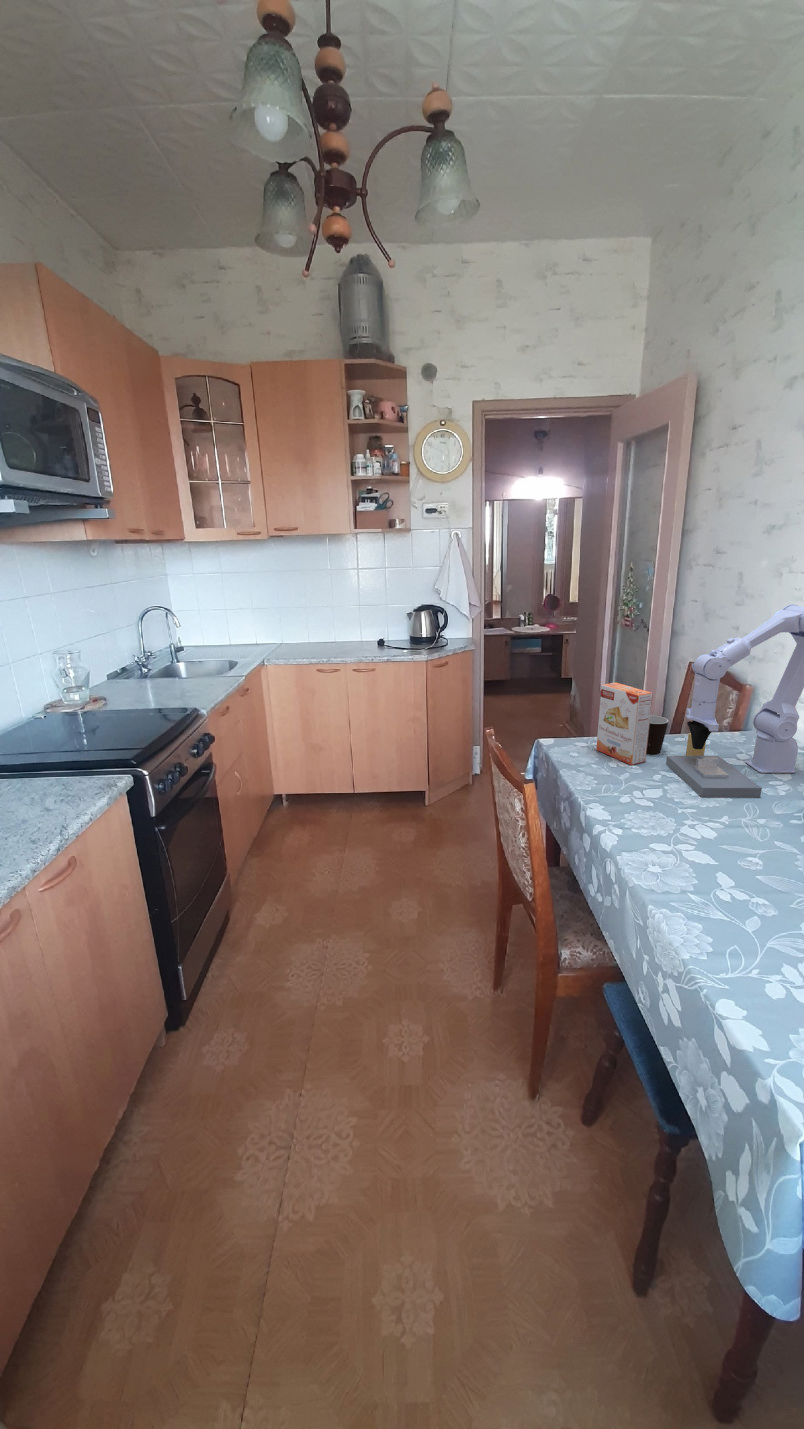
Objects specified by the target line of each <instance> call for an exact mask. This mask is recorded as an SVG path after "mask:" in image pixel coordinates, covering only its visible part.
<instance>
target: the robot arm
mask: <svg viewBox="0 0 804 1429" xmlns="http://www.w3.org/2000/svg"><path fill="white" fill-rule="evenodd" d="M781 633H789V634H790V635H791V637H792V638H793V640H794V641H795V643H796V645H795V647H794V650H793V652H792V654H791V656H790V658H789V661H788V663H787V665H786V667H785V670H784V672H783V674H782V677H781V678H780V680H779V683H778V685H777V688H776V689H775V692H774V694H773V697H772V698H771V700H769V701H767V702H765V703H763V704H762V706H761V708H760V709H759V711H757V712H756V713H755V715H753V716H754V717H753V719H752V725H753V727H754V729H756V731H755V734H756V736H755V742H754V749H753V754H752V760H745V762H744V763H746V764H747V765H748V766H750V767H751V768H752V769H754V770H756V772H758V773H761V774H763V773H764V774H765V773H766V774H767V773H769V774H772V773H773V774H775V773H776V774H777V773H778V774H779V773H780V774H781V773H783V774H785V773H787V774H789V773H792V774H795V773H796V772H797V771H796V770H795V768H796V767H795V766H796V762H797V757H798V752H799V745H798V742H797V740H796V738H794V736H795V735H796V734H797V731H798V721H799V719H800V715H799V712H798V711H797V707H796V705H797V704H798V701H799V699H800V697H801V695H802V692H803V690H804V606H802V605H798V604H788V605H785V606H783V608H782V609H779V610H777V611H776V612H774V614H773V616H772V617H770V618H769V619H768V620H766V621H765V622H763V623H762V624H760V625H759V626H757V627H756V628H754V629H753V630H752V631H750V632H749V633H748V634H746V635H744V636H743V637H739V636H738V637H729V638H728V639H727V640H726V642H725V643H724V644H722V645H720V646H719V647H717V648H716V649H712V650H710V652H709V653H708V654H707V653H706V654H701V655H699V656H697V658H696V659H695V661H694V662H693V663H692V664H691V669H692V671H693V673H694V674H695V675H694V686H693V691H692V700H691V707H690V708H686V713H685V718H686V719H687V720H688V721H687V722H686V725H687V727H688V729H689V733H691V738H692V746H693V748H694V749H703V747H704V745H705V742H706V743H707V740H708V738H709V737H710V735H711V734H712V733H713V732H719V728H720V724H719V723H718V722H717V720H716V717H715V714H716V709H717V702H718V701H717V700H718V694H719V688H720V682H721V681H720V680H721V678H723V677H724V676H725V675H726V673H727V671H728V670H729V669H730V668H731V667H733V666H734V665H737V663H739V662H740V661H742V660H744V659H745V658H747V657H748V656H750V654H751V650H752V649H753V648H755V647H757V646H758V645H760V644H762V643H763V642H765V641H768V640H769V639H771V638H773V637H775V636H777V635H778V634H779V635H780V634H781ZM689 720H690V721H689ZM705 746H706V745H705Z"/></svg>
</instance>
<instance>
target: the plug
mask: <svg viewBox="0 0 804 1429" xmlns="http://www.w3.org/2000/svg"><path fill="white" fill-rule="evenodd" d="M706 743H707V741H706V742H705V745H704V747H703V749H694V748H693V746H692V738H691V733H690V732H688V735H687V743H686V750H685V756H705V751H706V750H705V749H706Z"/></svg>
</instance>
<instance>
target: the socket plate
mask: <svg viewBox="0 0 804 1429" xmlns="http://www.w3.org/2000/svg"><path fill="white" fill-rule="evenodd" d="M697 758H718V767H719V768H721V769H722V770H723V771H724V772H726V773H727V774H728V775H729V777H728V778H704V777H703V776H701V775H700V774H699V773H698V772H697V771H696V770H694V766H696V763H697ZM665 763H666V764H665V765H667V766H668V767H669V768H670V769H671V770H672V771H673V772H674V773H675V774H676V775H677V776H678V777H679V778H681V780H682V781H683V782H685V784H687V786H689V787H690V788H691V789H692V790H693V791H694V792H695V793H696V794H698V796H700V797H701V798H761V795H762V790H763V789H762V788H763V787H762V786H760V785H758V784H757V783H756V782H754V781H753V780H751V779H750V778H749V777H747V775H745V774H744V773H742V772H741V771H740V770H738V768H735V766H733V765H731V764H730V763H729V762H728V761H727V760H725V759H723V758H722V757H721V756H719V755H704V756H686V755H666V762H665Z"/></svg>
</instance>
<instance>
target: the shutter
mask: <svg viewBox="0 0 804 1429" xmlns="http://www.w3.org/2000/svg"><path fill="white" fill-rule="evenodd" d="M694 770H696V771H697V772H698V773H699V774H700V775H701V776H703V777H704V778H728V777H729V775H728V774H727V773H726V772H724V771H723V770H722V769H721V768H719V767H718V758H697V763H696V766H694Z"/></svg>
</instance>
